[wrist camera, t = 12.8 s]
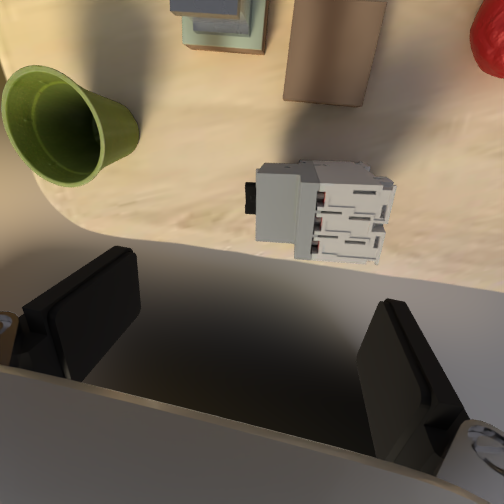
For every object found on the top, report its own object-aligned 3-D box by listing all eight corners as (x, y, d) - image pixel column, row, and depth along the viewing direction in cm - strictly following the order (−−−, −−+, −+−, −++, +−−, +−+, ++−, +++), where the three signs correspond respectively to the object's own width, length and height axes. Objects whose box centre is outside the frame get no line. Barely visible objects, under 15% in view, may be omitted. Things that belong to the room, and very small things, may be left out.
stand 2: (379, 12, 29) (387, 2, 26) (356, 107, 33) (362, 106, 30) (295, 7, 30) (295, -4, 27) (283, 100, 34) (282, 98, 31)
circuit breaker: (255, 158, 38) (231, 179, 24) (362, 161, 36) (400, 186, 22) (254, 210, 41) (233, 254, 28) (352, 215, 39) (380, 265, 26)
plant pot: (141, 74, 35) (79, 55, 25) (163, 167, 40) (118, 183, 30) (63, 86, 37) (-22, 74, 27) (94, 174, 42) (30, 191, 32)
